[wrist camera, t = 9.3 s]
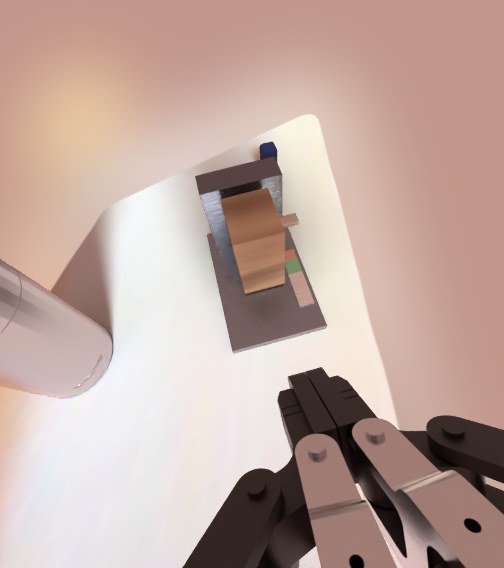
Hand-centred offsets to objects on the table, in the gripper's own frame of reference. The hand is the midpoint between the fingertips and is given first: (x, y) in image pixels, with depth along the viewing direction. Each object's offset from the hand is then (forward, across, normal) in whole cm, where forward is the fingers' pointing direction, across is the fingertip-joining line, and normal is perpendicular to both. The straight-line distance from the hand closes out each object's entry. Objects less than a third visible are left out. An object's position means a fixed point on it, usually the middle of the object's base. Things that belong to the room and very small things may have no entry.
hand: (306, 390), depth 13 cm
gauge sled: (+26, -3, -1) cm, 26 cm away
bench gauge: (+26, -2, +1) cm, 26 cm away
